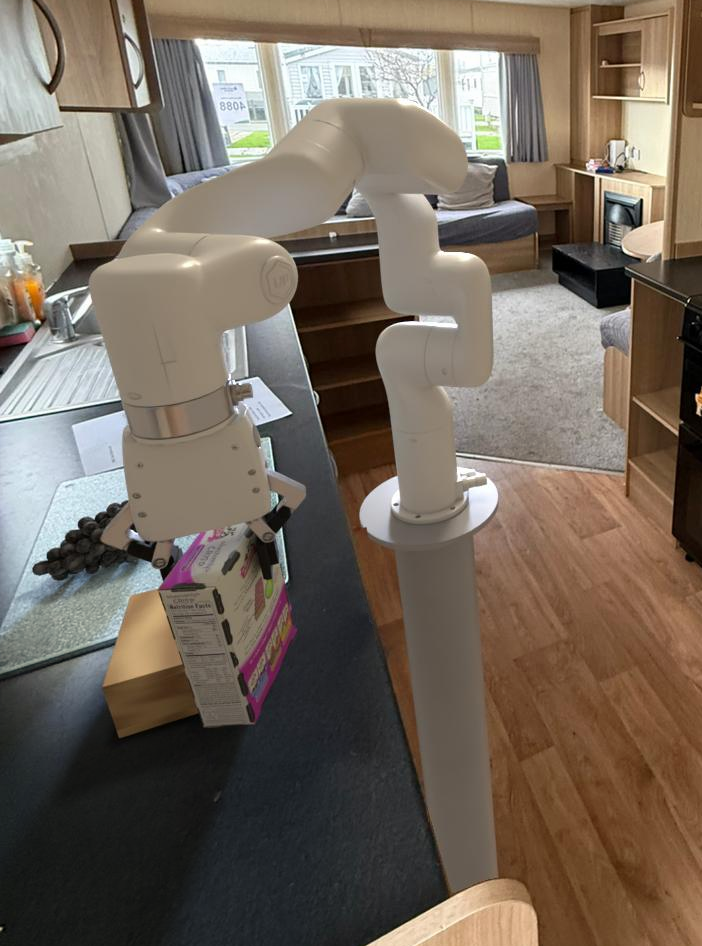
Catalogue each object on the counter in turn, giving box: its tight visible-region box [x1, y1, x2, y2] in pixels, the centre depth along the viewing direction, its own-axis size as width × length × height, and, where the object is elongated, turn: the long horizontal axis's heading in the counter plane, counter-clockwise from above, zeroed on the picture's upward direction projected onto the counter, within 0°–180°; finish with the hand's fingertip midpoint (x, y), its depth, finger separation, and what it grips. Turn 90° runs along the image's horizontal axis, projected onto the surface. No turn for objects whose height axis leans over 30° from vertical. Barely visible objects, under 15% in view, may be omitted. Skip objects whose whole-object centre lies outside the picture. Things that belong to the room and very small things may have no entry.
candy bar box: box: [156, 523, 298, 728], centre depth 61 cm, size 11×5×16 cm, turn 5°
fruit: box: [31, 499, 139, 582], centre depth 91 cm, size 9×8×15 cm
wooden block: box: [101, 588, 199, 739], centre depth 74 cm, size 13×14×7 cm
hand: (226, 579), depth 59 cm, fingers closed on candy bar box, 6 cm apart
